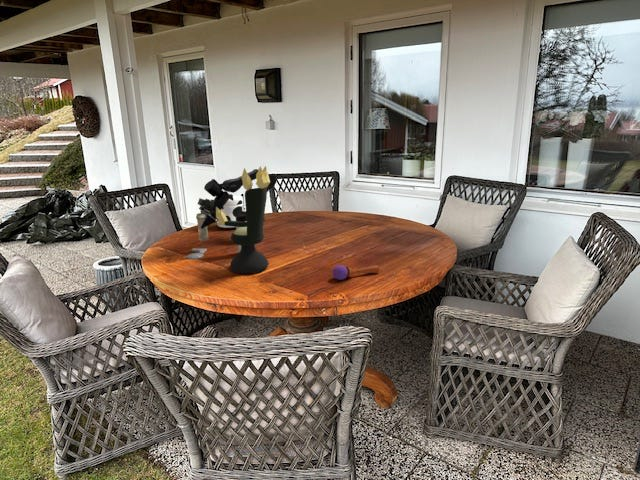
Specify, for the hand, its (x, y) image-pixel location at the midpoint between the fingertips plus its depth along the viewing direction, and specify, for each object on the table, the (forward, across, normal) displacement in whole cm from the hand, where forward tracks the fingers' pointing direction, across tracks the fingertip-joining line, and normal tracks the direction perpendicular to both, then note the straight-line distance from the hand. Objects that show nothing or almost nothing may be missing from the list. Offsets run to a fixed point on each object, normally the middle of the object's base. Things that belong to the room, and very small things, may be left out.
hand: (199, 227), depth 206 cm
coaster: (+13, +6, +5) cm, 15 cm away
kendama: (-20, +72, +38) cm, 83 cm away
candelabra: (+2, +38, +16) cm, 42 cm away
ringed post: (+4, 0, +6) cm, 7 cm away
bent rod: (+10, -1, +8) cm, 13 cm away
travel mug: (-2, +17, +20) cm, 26 cm away
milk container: (-12, -37, +30) cm, 50 cm away
